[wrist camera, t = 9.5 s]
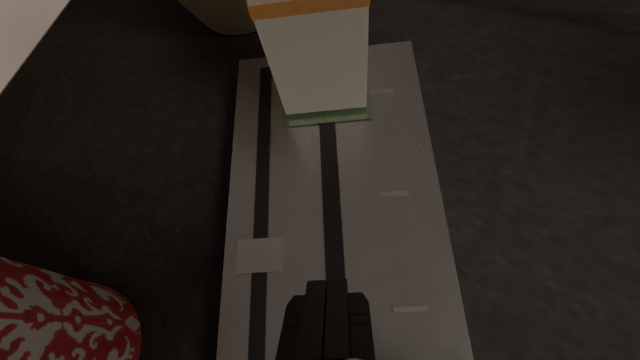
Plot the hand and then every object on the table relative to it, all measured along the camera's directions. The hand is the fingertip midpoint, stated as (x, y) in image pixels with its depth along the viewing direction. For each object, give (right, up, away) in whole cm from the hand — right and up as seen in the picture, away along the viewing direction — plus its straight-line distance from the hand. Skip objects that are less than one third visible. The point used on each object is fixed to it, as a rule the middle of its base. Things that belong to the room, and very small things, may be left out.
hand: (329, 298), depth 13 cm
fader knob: (0, +11, +9) cm, 14 cm away
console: (0, +3, +8) cm, 8 cm away
